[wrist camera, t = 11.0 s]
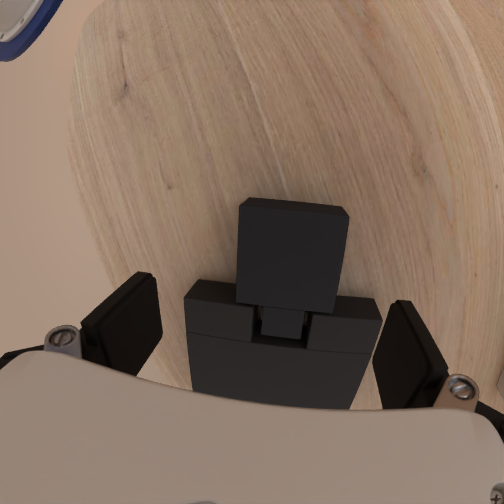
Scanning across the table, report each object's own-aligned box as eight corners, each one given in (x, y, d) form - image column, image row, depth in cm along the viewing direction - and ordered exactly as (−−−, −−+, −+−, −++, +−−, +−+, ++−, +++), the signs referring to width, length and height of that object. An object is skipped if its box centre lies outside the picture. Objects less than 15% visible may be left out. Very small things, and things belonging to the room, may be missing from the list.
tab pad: (243, 308, 23) (234, 331, 20) (248, 197, 20) (239, 205, 17) (324, 317, 22) (326, 342, 19) (342, 206, 19) (349, 216, 16)
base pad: (204, 382, 27) (194, 404, 24) (198, 278, 22) (183, 297, 19) (340, 400, 25) (342, 424, 22) (374, 298, 20) (383, 320, 17)
